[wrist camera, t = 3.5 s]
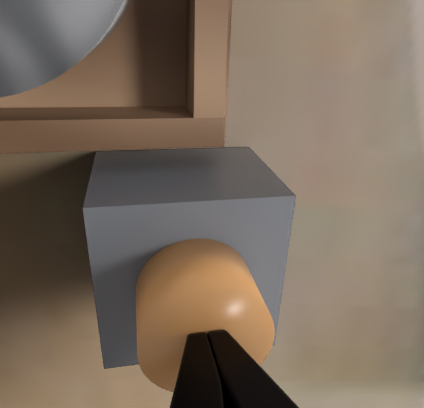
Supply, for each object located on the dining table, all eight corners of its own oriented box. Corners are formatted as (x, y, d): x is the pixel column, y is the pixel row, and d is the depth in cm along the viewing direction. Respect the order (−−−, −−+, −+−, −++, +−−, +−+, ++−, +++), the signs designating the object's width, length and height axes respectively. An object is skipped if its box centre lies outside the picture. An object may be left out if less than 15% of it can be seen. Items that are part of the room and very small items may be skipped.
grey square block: (239, 268, 15) (274, 345, 11) (110, 280, 14) (104, 368, 10) (249, 146, 13) (295, 195, 9) (96, 151, 12) (82, 208, 8)
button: (244, 323, 11) (267, 383, 9) (138, 337, 10) (141, 403, 8) (253, 233, 9) (282, 282, 8) (132, 243, 9) (132, 297, 7)
